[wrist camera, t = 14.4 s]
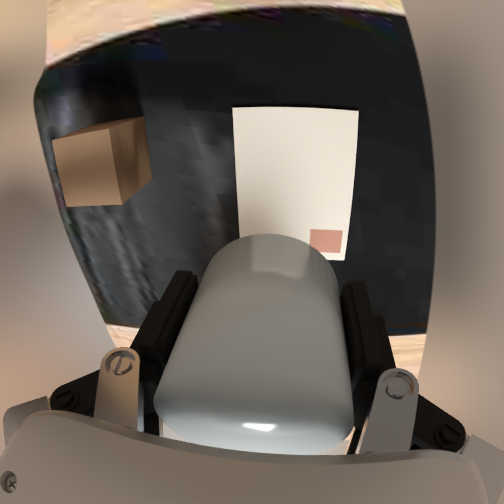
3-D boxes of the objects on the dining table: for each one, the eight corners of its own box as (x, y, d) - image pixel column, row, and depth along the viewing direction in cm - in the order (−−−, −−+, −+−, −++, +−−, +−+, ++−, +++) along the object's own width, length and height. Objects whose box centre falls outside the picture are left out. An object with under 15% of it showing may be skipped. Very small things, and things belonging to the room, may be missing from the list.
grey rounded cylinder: (196, 230, 11) (127, 354, 6) (347, 237, 11) (381, 377, 5) (210, 334, 14) (176, 447, 9) (327, 342, 13) (331, 462, 8)
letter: (233, 107, 22) (232, 107, 22) (357, 111, 21) (358, 111, 21) (241, 255, 30) (240, 256, 30) (343, 259, 29) (344, 260, 28)
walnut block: (91, 125, 24) (52, 140, 19) (144, 115, 23) (108, 128, 18) (101, 181, 27) (66, 206, 22) (152, 178, 27) (122, 204, 22)
